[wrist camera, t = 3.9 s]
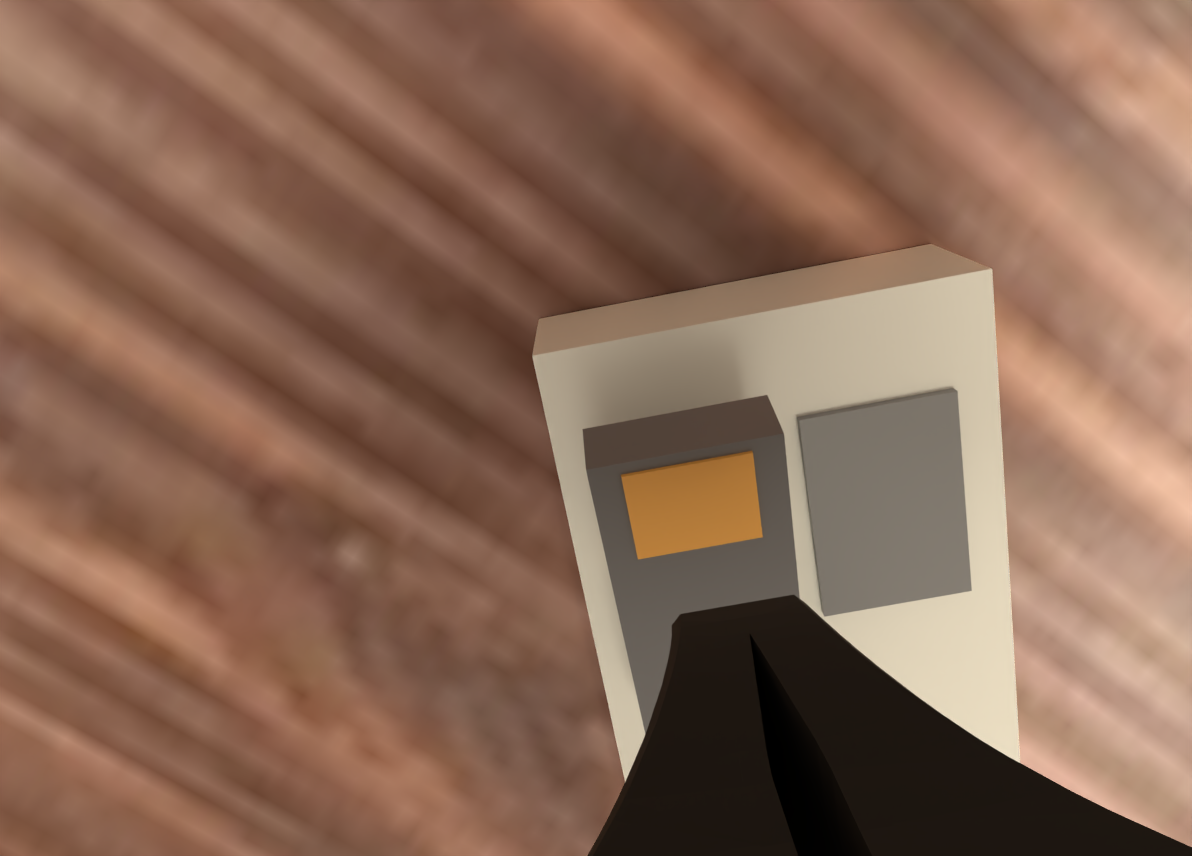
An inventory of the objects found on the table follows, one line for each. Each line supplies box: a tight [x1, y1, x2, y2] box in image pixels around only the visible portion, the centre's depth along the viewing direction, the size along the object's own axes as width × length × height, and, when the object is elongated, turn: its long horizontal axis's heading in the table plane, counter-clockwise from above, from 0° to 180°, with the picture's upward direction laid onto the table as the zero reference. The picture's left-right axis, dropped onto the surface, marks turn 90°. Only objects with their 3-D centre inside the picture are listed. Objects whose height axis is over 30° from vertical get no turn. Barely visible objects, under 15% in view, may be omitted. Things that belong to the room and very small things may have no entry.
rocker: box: [582, 395, 800, 734], centre depth 16 cm, size 3×6×1 cm, turn 11°
